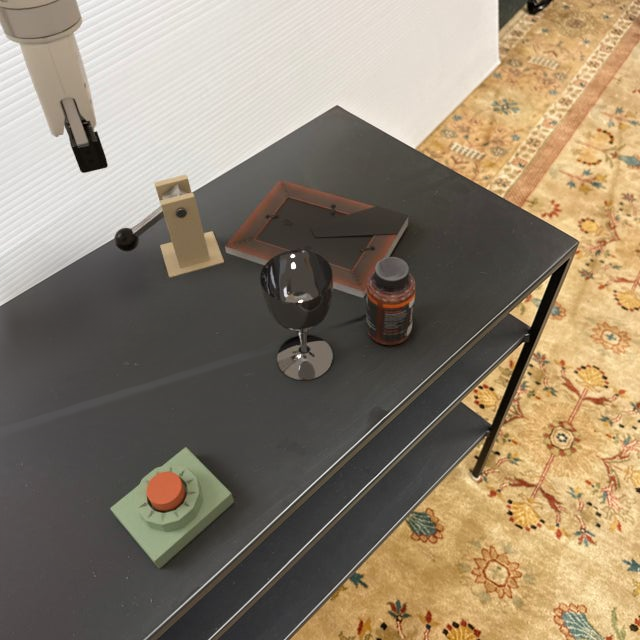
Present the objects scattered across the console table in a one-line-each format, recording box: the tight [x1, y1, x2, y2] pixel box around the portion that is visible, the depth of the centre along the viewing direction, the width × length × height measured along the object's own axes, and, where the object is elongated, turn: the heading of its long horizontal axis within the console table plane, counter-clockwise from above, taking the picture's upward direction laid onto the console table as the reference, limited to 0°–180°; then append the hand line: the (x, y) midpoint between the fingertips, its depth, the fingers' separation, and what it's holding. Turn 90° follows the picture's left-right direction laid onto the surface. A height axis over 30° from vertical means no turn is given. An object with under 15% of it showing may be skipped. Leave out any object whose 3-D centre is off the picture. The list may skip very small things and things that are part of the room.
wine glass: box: [259, 250, 334, 381], centre depth 76 cm, size 8×8×15 cm
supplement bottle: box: [365, 256, 417, 346], centre depth 80 cm, size 6×6×11 cm
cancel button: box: [146, 472, 185, 511], centre depth 66 cm, size 4×4×2 cm
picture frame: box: [224, 179, 409, 299], centre depth 94 cm, size 16×2×22 cm
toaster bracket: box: [153, 174, 225, 279], centre depth 89 cm, size 8×7×13 cm
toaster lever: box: [113, 184, 187, 252], centre depth 87 cm, size 12×3×3 cm, turn 110°
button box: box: [110, 446, 235, 570], centre depth 68 cm, size 10×8×4 cm
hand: (94, 166), depth 77 cm, fingers closed
